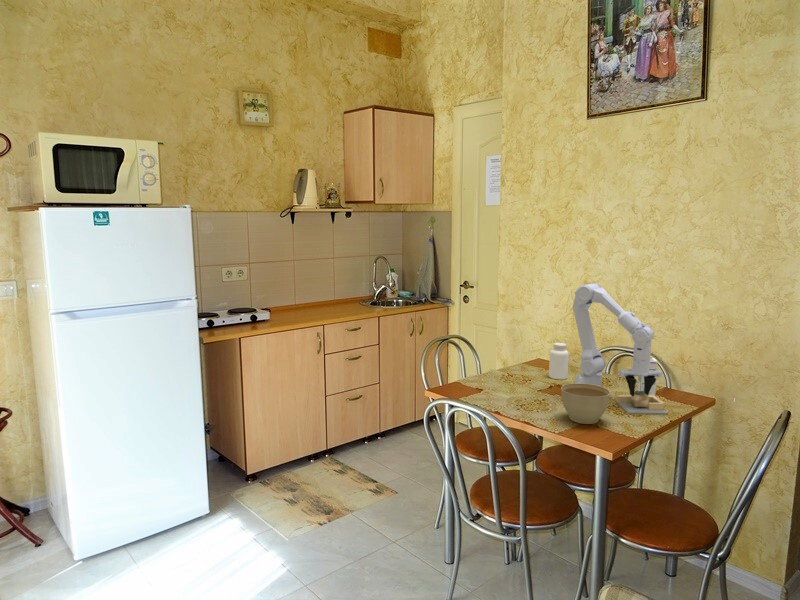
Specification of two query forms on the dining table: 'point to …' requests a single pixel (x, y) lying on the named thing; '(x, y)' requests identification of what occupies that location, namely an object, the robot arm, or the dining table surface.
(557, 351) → the pill bottle
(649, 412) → the wall board
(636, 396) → the cabinet block
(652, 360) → the syrup box
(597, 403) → the planter bowl
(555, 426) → the dining table surface
